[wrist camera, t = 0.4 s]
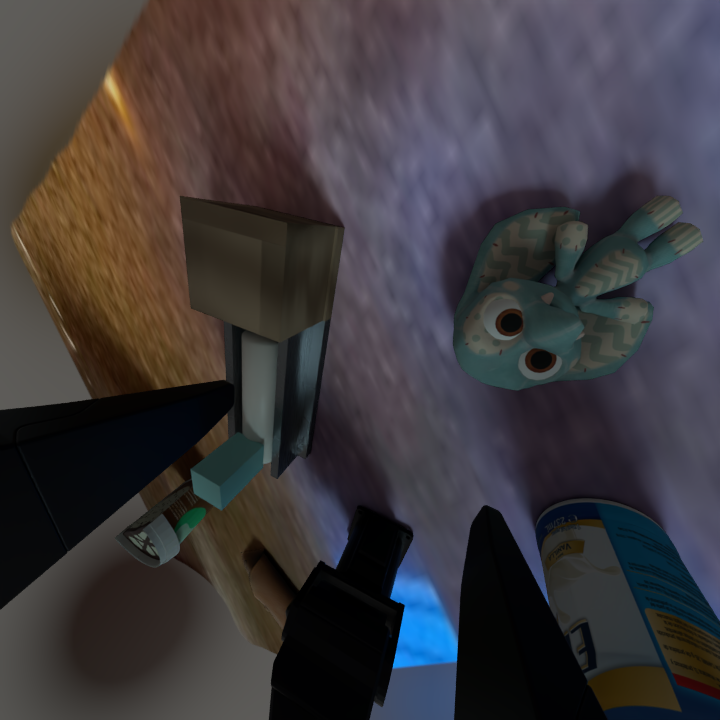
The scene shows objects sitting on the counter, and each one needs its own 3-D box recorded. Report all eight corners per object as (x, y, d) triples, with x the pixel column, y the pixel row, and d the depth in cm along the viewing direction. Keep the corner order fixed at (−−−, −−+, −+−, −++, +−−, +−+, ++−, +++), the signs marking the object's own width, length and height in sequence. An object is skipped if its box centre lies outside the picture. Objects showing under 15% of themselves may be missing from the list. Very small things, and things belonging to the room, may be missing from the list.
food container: (204, 511, 47) (142, 571, 38) (181, 483, 46) (113, 538, 38) (242, 499, 40) (178, 569, 32) (216, 467, 40) (144, 529, 31)
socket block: (330, 318, 23) (282, 343, 18) (253, 292, 25) (188, 307, 20) (344, 227, 20) (290, 223, 14) (254, 206, 22) (177, 195, 16)
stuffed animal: (889, 316, 9) (539, 476, 13) (695, 301, 16) (504, 411, 20) (695, 50, 9) (397, 306, 13) (580, 151, 15) (409, 297, 20)
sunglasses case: (236, 552, 48) (219, 588, 41) (271, 529, 48) (259, 562, 41) (297, 626, 50) (290, 671, 43) (329, 605, 50) (327, 647, 43)
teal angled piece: (286, 446, 30) (224, 512, 23) (259, 432, 31) (191, 491, 23) (297, 336, 24) (216, 379, 16) (262, 323, 24) (171, 358, 17)
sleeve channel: (310, 453, 31) (285, 483, 27) (252, 424, 33) (221, 448, 29) (330, 318, 23) (300, 334, 19) (253, 292, 25) (213, 301, 22)
